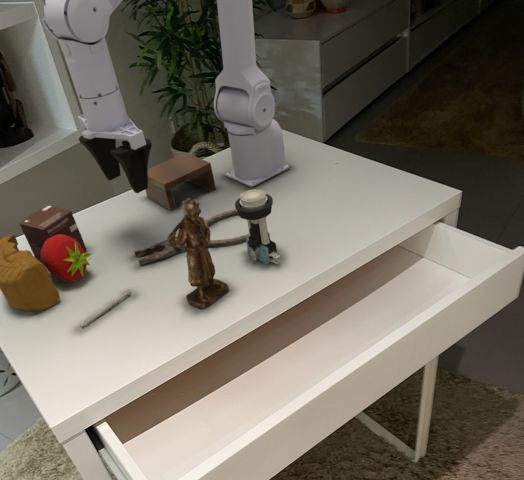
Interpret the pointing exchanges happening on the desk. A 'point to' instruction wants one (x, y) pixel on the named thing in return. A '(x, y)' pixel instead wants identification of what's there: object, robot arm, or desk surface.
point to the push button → (257, 224)
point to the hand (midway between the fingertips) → (127, 183)
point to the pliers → (170, 251)
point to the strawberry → (64, 258)
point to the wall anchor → (104, 309)
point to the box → (49, 228)
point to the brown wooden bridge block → (177, 178)
